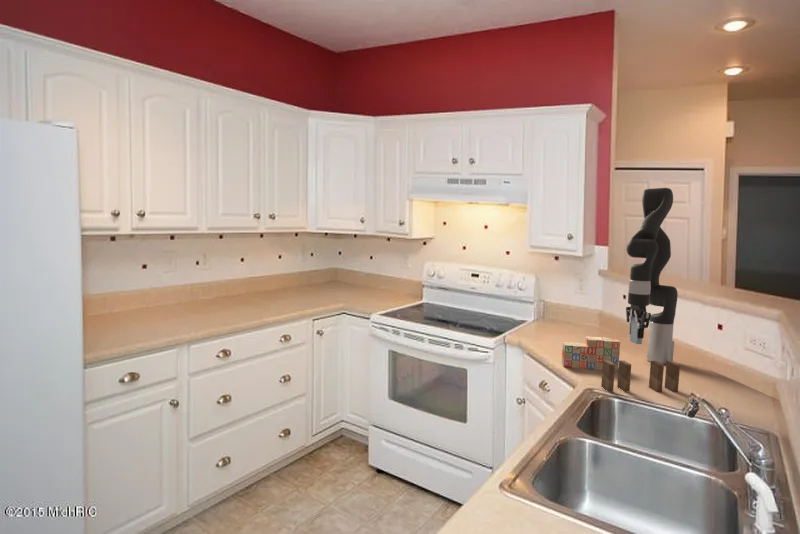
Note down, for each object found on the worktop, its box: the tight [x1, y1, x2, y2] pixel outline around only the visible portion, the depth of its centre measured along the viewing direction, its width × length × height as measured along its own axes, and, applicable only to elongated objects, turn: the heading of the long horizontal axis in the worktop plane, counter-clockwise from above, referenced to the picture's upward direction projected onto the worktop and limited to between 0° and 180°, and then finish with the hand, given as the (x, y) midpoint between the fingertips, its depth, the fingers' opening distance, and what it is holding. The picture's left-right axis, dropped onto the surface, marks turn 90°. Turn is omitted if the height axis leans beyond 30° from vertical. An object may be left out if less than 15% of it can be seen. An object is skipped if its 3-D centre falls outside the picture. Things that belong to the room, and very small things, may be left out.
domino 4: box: [664, 360, 681, 393], centre depth 191 cm, size 2×5×10 cm, turn 5°
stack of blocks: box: [561, 336, 621, 372], centre depth 218 cm, size 21×6×12 cm, turn 80°
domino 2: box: [629, 317, 643, 345], centre depth 201 cm, size 2×5×10 cm, turn 5°
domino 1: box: [616, 359, 632, 392], centre depth 190 cm, size 2×5×10 cm, turn 5°
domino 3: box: [648, 361, 665, 393], centre depth 191 cm, size 2×5×10 cm, turn 5°
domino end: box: [600, 360, 616, 392], centre depth 189 cm, size 2×5×10 cm, turn 5°
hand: (636, 336), depth 201 cm, fingers closed on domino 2, 5 cm apart
